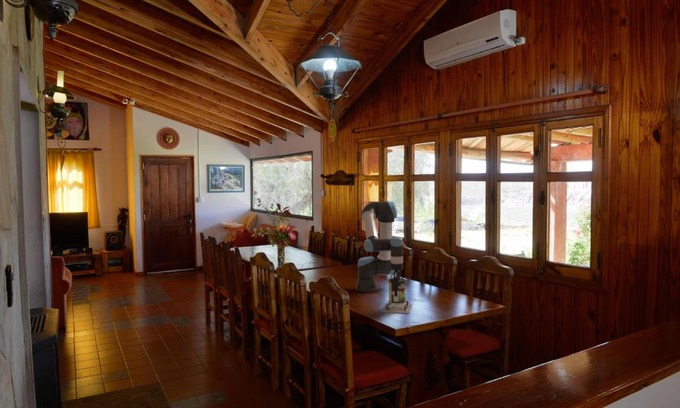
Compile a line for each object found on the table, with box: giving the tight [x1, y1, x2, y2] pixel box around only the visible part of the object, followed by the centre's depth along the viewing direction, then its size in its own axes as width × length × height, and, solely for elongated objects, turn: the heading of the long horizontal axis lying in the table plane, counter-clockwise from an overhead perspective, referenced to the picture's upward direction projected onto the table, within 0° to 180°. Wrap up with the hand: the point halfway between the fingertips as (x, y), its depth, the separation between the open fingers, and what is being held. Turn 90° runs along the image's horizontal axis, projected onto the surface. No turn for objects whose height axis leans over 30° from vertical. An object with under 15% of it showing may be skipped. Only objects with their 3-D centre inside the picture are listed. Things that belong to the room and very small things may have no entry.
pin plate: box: [381, 299, 413, 314], centre depth 304 cm, size 16×16×4 cm
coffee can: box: [388, 277, 407, 305], centre depth 303 cm, size 10×10×14 cm
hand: (397, 299), depth 304 cm, fingers closed on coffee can, 10 cm apart
